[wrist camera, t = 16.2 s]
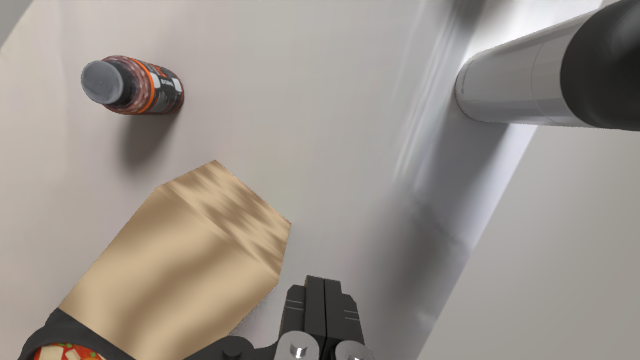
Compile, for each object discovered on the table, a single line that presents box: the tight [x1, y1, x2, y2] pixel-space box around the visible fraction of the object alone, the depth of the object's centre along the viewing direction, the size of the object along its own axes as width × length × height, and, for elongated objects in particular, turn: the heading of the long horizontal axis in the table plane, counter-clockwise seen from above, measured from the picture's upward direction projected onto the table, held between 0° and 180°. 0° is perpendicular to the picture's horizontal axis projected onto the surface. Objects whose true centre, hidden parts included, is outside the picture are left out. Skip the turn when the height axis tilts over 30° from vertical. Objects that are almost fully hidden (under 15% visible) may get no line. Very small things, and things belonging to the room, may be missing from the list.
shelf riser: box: [58, 160, 291, 360], centre depth 36 cm, size 14×16×16 cm
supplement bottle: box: [81, 56, 184, 115], centre depth 33 cm, size 6×6×11 cm
